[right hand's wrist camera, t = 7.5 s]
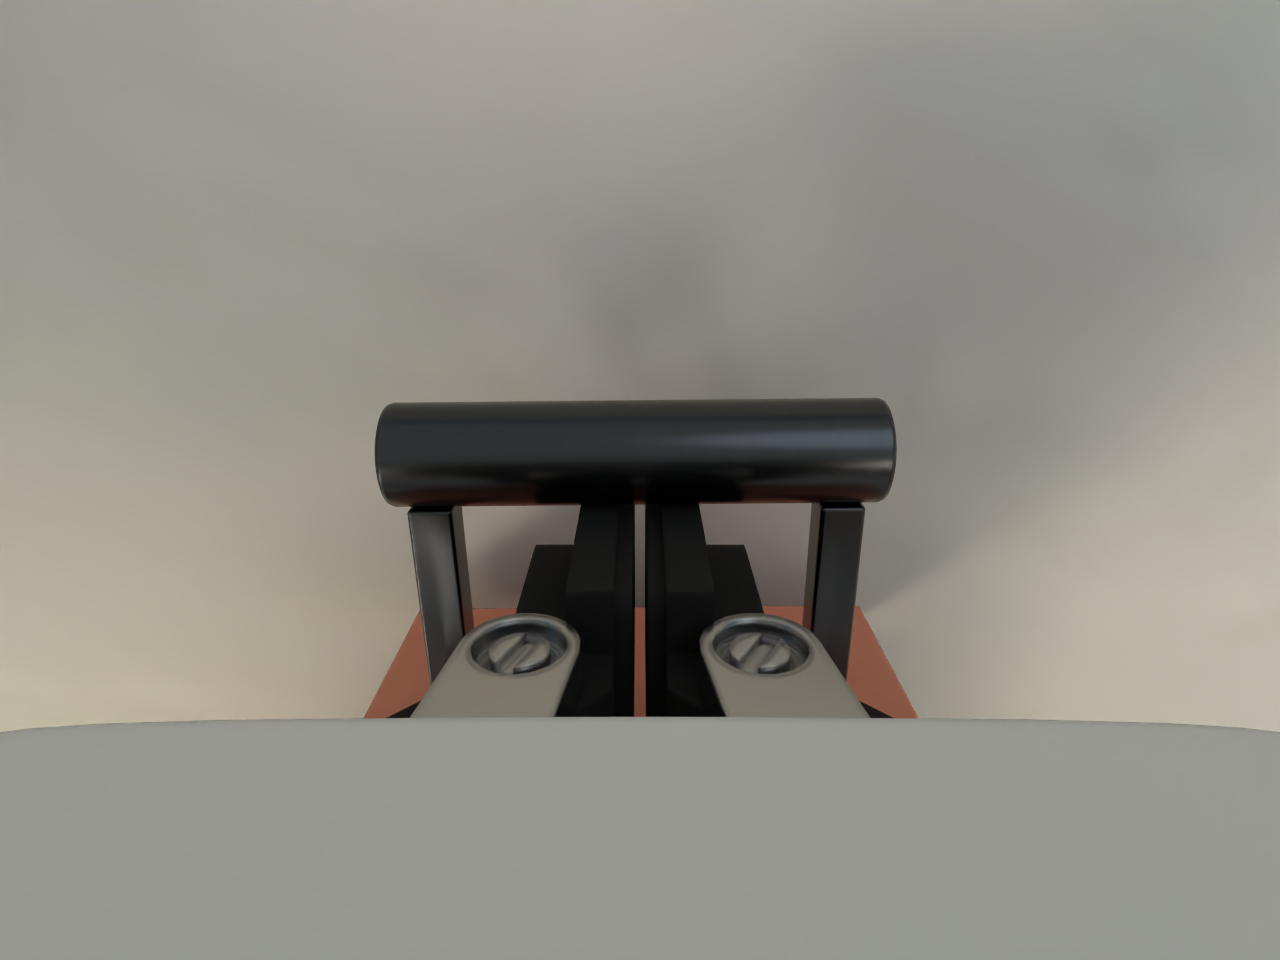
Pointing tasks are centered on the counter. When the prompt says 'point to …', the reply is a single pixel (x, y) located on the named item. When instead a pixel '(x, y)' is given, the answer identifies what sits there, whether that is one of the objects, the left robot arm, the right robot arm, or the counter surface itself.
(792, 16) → the counter surface
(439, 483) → the drawer
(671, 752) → the right robot arm
